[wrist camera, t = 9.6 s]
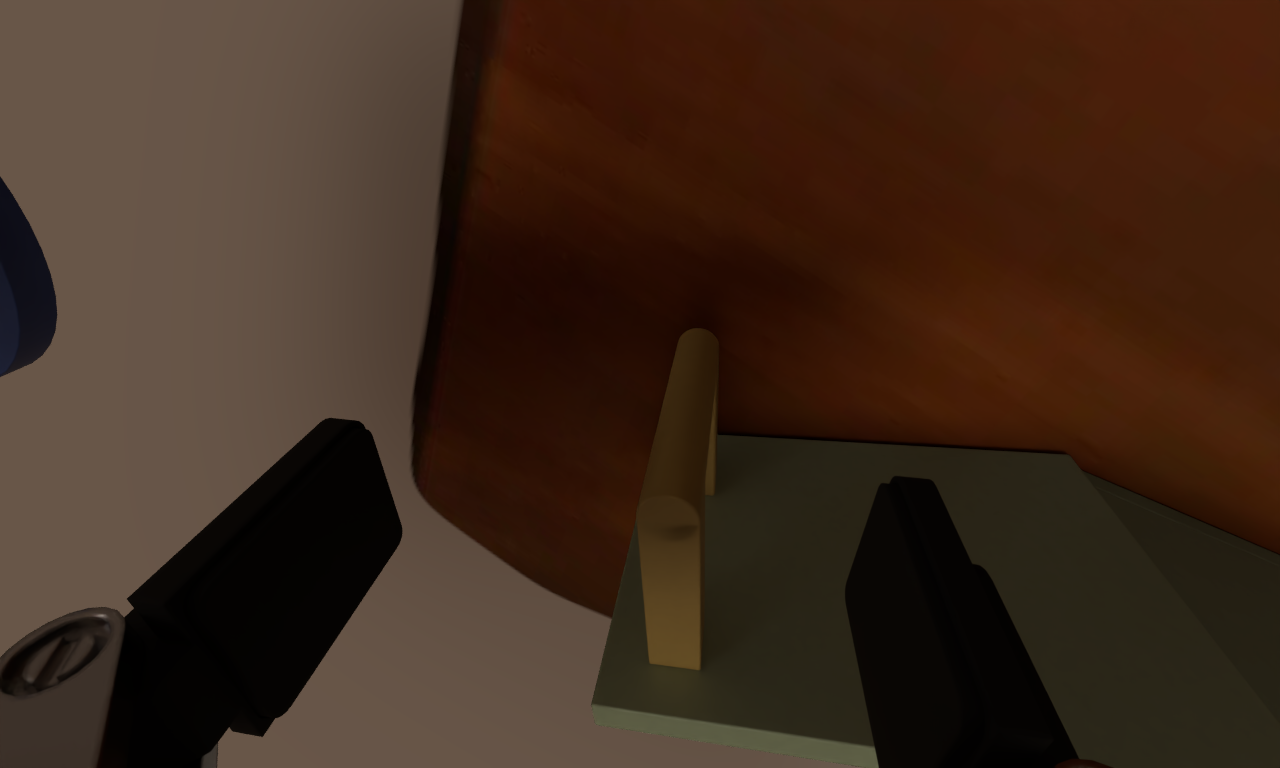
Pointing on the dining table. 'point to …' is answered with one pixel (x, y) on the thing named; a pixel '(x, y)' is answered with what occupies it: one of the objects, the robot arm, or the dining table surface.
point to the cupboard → (1213, 583)
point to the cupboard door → (816, 610)
